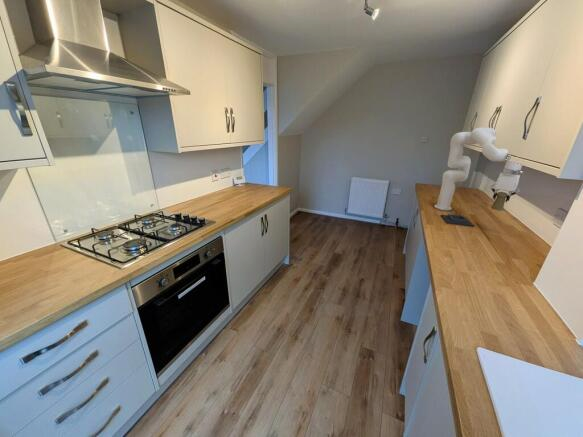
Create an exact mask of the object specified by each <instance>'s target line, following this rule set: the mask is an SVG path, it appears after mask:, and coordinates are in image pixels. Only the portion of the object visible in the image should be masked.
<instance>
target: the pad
mask: <svg viewBox="0 0 583 437" xmlns="http://www.w3.org/2000/svg"><path fill="white" fill-rule="evenodd" d="M440 216H441V218H442V219H443V220H444V222H445V223H446V224H449V225H456V226H465V227H471V228H472V227H474V224H473V223H472V221H470V220H469V219H468V218H467V217H465V216H464V215H462V214H461V215H460V214H453V213H451V214H450V213H448V214H441V215H440Z"/></svg>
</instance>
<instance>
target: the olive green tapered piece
mask: <svg viewBox="0 0 583 437" xmlns="http://www.w3.org/2000/svg"><path fill="white" fill-rule="evenodd" d="M508 195H509V193H507V192H506V191H497V196H496V199H495V200H493V203H492V205H491V206H490V209H491V210H494V211H499V212H501V211H503V210H504V206H505V203H506V202H505V200H506V198H507V196H508Z"/></svg>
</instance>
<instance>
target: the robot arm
mask: <svg viewBox="0 0 583 437" xmlns="http://www.w3.org/2000/svg"><path fill="white" fill-rule="evenodd" d="M497 141H498V138H497V137H496V129H495V128H493V127H481V126H480V127H476V128H474V129H472V130H471V131H459V132H456V133H454V134H453V136H452V137H451V139H450V142H449V149H450V150H449V153H448V159H447V167H448V168H450V169H449V170H446V171H444V172H443V174H442V182H441V187H440V190H439V194H438V198H437V202H436V204H434V205H433V207H434V208H435V209H437V210H441V211H452V209H453V208H452V206H451V205H452V201H453V197H454V194H455V191H456V184H455V183H463V182H466V181H467V179H468V178H469V173H470V169H471V165H472V160H471V157H469V156H467V155H464V154H463V153H464V147H463V145H477V144H478V145H479V146H480V147H481V152H482V155H483V156H484V157H485V158H487V159H488V161H491V162H502V163H503V162H505V165H504V168H503V170H502V172H500V173H499V175H498V177H497V179H496V181H495V183H493V184H492V185H489V189H490V190H491V191H492V193H493V195H492V200H493V201H495V200H496V198H497V193H498V192H499V191H503V192H508V196H507V198H505V202H504V203H507V202H509V201H510V199H511V197H512V196H514V195H517V194H520V193H521V190H520V188H519V186H518V185H519V182H520V180H521V178H520V177H521V175H522V174H524V171H522V168H523V165H520V164H517V163H514V162H512V161H509V160H510V159H511V153H510V154H509V156H508V150H507V149H508V148H498V147H496V146H495V145H496V143H497ZM507 157H508V159H507ZM505 159H507V160H505Z"/></svg>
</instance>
